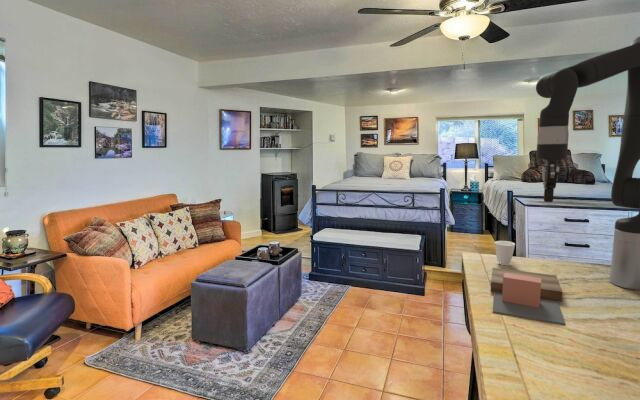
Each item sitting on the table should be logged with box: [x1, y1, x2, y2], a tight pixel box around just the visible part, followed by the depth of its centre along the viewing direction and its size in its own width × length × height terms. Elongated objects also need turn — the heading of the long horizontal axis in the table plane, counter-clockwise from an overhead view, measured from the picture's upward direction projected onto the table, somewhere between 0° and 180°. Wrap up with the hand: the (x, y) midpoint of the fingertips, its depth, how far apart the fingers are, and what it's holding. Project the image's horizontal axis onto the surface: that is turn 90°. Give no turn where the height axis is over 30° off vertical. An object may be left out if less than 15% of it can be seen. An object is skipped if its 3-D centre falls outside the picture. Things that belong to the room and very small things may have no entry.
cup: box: [494, 240, 516, 267], centre depth 132 cm, size 7×10×8 cm
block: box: [502, 273, 541, 308], centre depth 98 cm, size 7×9×4 cm
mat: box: [492, 292, 566, 326], centre depth 96 cm, size 14×16×1 cm
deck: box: [490, 267, 563, 303], centre depth 109 cm, size 14×18×3 cm
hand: (548, 201), depth 105 cm, fingers closed
